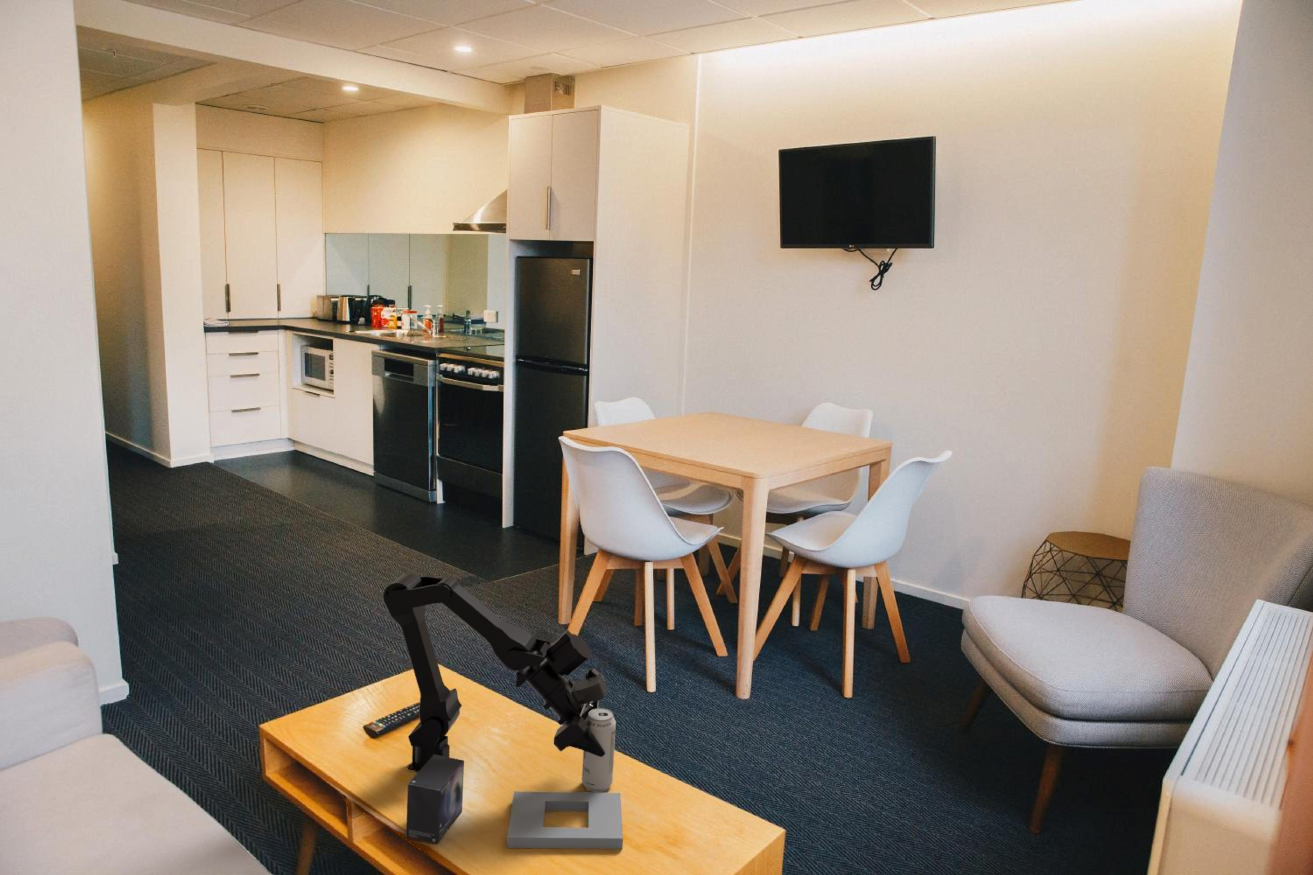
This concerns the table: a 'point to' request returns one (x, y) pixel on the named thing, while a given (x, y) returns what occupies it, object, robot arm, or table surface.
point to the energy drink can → (601, 768)
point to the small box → (434, 799)
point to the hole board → (533, 834)
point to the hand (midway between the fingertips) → (606, 746)
